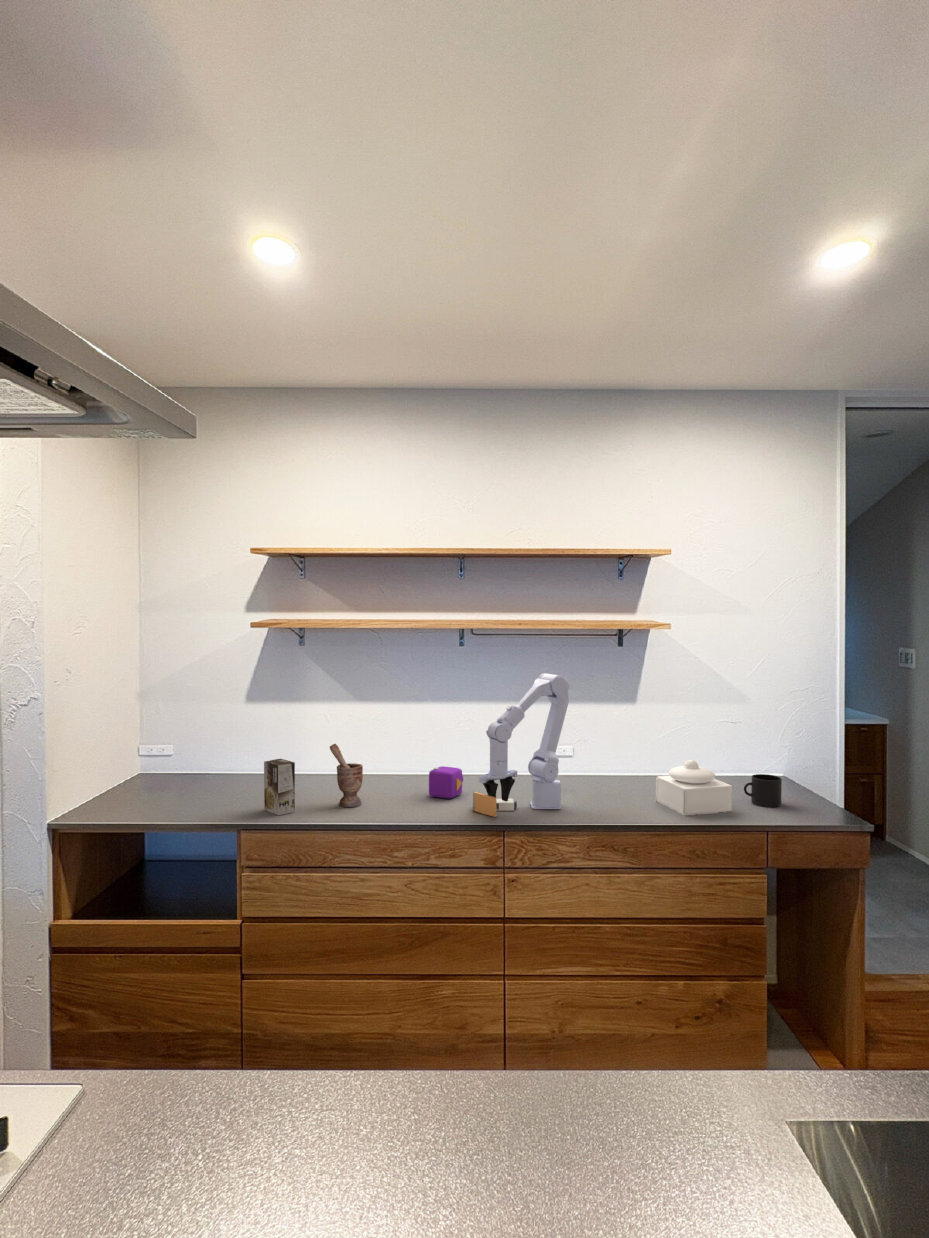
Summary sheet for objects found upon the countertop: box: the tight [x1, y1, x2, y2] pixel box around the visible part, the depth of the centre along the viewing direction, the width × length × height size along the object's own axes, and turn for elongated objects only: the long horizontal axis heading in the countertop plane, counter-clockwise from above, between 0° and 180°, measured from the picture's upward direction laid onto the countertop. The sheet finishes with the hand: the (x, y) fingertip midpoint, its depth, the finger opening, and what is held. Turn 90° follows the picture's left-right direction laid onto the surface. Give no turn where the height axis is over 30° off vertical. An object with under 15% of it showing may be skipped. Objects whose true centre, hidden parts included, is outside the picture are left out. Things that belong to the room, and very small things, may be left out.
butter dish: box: [655, 759, 733, 816], centre depth 244 cm, size 18×18×16 cm
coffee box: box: [263, 758, 296, 816], centre depth 237 cm, size 9×6×16 cm
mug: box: [743, 773, 783, 808], centre depth 248 cm, size 9×12×9 cm
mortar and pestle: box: [329, 743, 364, 808], centre depth 245 cm, size 12×9×20 cm
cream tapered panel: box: [496, 798, 518, 812], centre depth 241 cm, size 14×5×3 cm, turn 91°
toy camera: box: [428, 766, 464, 800], centre depth 258 cm, size 11×14×10 cm
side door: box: [472, 791, 497, 818], centre depth 234 cm, size 10×1×6 cm, turn 45°
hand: (498, 801), depth 235 cm, fingers open, 5 cm apart
